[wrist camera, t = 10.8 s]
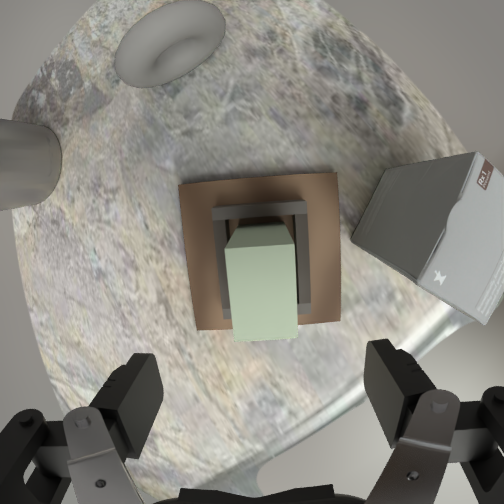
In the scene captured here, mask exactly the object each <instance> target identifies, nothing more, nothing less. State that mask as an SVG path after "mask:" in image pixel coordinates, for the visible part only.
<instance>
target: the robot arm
mask: <svg viewBox="0 0 504 504" xmlns="http://www.w3.org/2000/svg"><path fill="white" fill-rule="evenodd" d="M60 170H61V149H60V145H59V142H58V140H57V138H56V136H55V134H54V133H53V132H52V131H51V130H50V129H48V128H47V127H45V126H41V125H35V124H30V123H24V122H18V121H12V120H5V119H0V211H3V210H7V209H14V208H19V207H24V206H30V205H35V204H39V203H41V202H42V201H44V200H45V199H46V198H47V197H48V196H49V195H50V194H51V193H52V191H53V190H54V188H55V186H56V184H57V181H58V178H59V175H60ZM364 387H365V390H366V393H367V395H368V397H369V399H370V402H371V404H372V406H373V408H374V411H375V413H376V415H377V418H378V420H379V422H380V424H381V427H382V429H383V431H384V434H385V436H386V438H387V441H388V443H389V445H390V448H391V449H393V448H395V449H394V451H393V453H392V455H391V457H390V459H389V461H388V462H387V464H386V466H385V468H384V470H383V472H382V474H381V476H380V477H379V479H378V481H377V482H376V484H375V486H374V488H373V490H372V491H371V493H370V495H369V496H368V498H367V500H365V499H362V498H359V497H355V496H351V495H345V494H334V489H333V485H332V484H329V485H322V486H314V487H304V488H294V489H291V490H287V491H283V492H280V493H276V494H271V495H268V496H263V497H258V498H251V497H246V496H241V495H236V494H231V493H226V492H222V491H218V490H200V489H187V488H181V489H180V493H179V497H178V498H171V499H166V500H162V501H159V502H156V503H153V504H433V503H434V501H435V498H436V496H437V493H438V490H439V487H440V485H441V482H442V479H443V476H444V473H445V470H446V467H447V463H457V462H460V464H461V466H462V468H463V470H464V473H465V474H466V477H467V479H468V481H469V483H470V485H471V487H472V489H473V492H474V494H475V496H476V498H477V500H478V503H479V504H504V457H503V456H502V453H501V452H500V450H499V449H498V446H499V447H500V448H501V449H502V451H503V453H504V387H502V386H494V387H491V388H488V389H487V390H486V391H485V392H484V393H483V396H482V398H481V401H469V402H460V400H459V398H458V397H457V396H456V395H454V394H453V393H452V392H449V391H446V390H441V389H436V387H435V385H434V384H433V383H432V382H431V380H430V379H429V377H428V376H427V375H426V374H425V373H424V371H423V370H422V368H421V367H420V366H419V364H417V362H416V360H415V359H414V358H413V357H412V355H411V354H409V353H407V352H405V351H404V350H402V349H398V350H396V349H395V348H394V346H393V345H392V344H391V342H390V341H389V340H388V339H380V340H374V341H368V343H367V347H366V358H365V368H364ZM163 394H164V392H163V385H162V381H161V377H160V373H159V369H158V365H157V361H156V358H155V356H154V354H151V353H134V354H133V355H132V357H131V358H130V359H129V361H128V362H127V364H126V365H121V366H120V367H119V368H117V369H116V370H114V371H113V372H112V373H111V375H110V376H109V378H108V379H107V381H106V382H105V383H104V385H103V387H101V389H100V390H99V392H98V393H97V395H96V396H95V397H94V399H93V400H92V402H91V403H90V405H89V406H88V407H79V408H76V409H74V410H72V411H70V412H69V413H68V414H67V415H66V416H65V417H64V419H63V421H46V420H45V418H44V416H43V414H42V413H41V412H40V411H38V410H36V409H26V410H23V411H21V412H19V413H17V414H16V415H15V416H14V417H13V418H12V419H11V420H10V421H9V423H8V424H7V425H6V426H5V428H4V429H3V430H2V432H1V433H0V504H61V502H62V500H63V498H64V495H65V493H66V491H67V489H68V487H69V485H70V483H71V480H72V483H73V487H74V490H75V494H76V497H77V500H78V503H79V504H145V502H144V500H143V498H142V496H141V495H140V493H139V491H138V489H137V487H136V485H135V483H134V482H133V480H132V478H131V476H130V474H129V472H128V470H127V468H126V466H125V464H124V463H125V460H126V458H133V459H139V457H140V454H141V452H142V449H143V447H144V445H145V442H146V440H147V437H148V435H149V432H150V430H151V427H152V425H153V423H154V420H155V418H156V415H157V413H158V411H159V408H160V406H161V403H162V401H163ZM31 460H32V461H33V463H34V464H35V466H36V467H35V469H34V471H33V473H32V474H31V476H30V478H29V479H28V481H27V483H26V485H25V483H24V479H23V475H24V472H25V470H26V469H27V467H28V465H29V464H30V462H31Z"/></svg>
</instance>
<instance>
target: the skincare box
mask: <svg viewBox="0 0 504 504" xmlns="http://www.w3.org/2000/svg"><path fill="white" fill-rule="evenodd" d="M351 242H352V243H353V244H355V245H357V246H358V247H360V248H361V249H363V250H365V251H366V252H368V253H369V254H371V255H373V256H374V257H376V258H377V259H379V260H380V261H382V262H383V263H385V264H386V265H388V266H390V267H391V268H393V269H394V270H396V271H398V272H399V273H401V274H402V275H404V276H405V277H407V278H408V279H410V280H411V281H413V282H414V283H415V284H416V285H417V286H419V287H421V288H422V289H424V290H426V291H427V292H429V293H431V294H432V295H434V296H436V297H437V298H439V299H440V300H442V301H443V302H445V303H447V304H448V305H450V306H451V307H453V308H455V309H456V310H458V311H460V312H462V313H463V314H465V315H467V316H468V317H470V318H472V319H474V320H475V321H477V322H479V323H480V324H482V325H486V324H487V322H488V320H489V318H490V316H491V314H492V313H493V311H494V309H495V307H496V305H497V303H498V301H499V300H500V298H501V296H502V294H503V292H504V175H503V174H502V173H501V172H499V170H497V169H496V168H495V167H494V166H493V165H492V164H491V163H490V162H489V161H488V160H487V159H486V158H485V157H484V156H483V155H482V154H481V153H480V152H478V151H476V152H471V153H465V154H460V155H454V156H449V157H444V158H440V159H434V160H429V161H423V162H418V163H413V164H408V165H403V166H398V167H394V168H389V169H386V170H385V172H384V174H383V176H382V178H381V180H380V182H379V184H378V186H377V188H376V190H375V192H374V194H373V196H372V198H371V200H370V202H369V204H368V206H367V208H366V210H365V212H364V214H363V216H362V218H361V220H360V222H359V224H358V226H357V228H356V230H355V232H354V234H353V236H352V238H351Z"/></svg>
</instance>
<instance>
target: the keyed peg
mask: <svg viewBox="0 0 504 504" xmlns="http://www.w3.org/2000/svg"><path fill="white" fill-rule="evenodd" d="M225 259H226V269H227V278H228V288H229V297H230V307H231V316H232V325H233V334H234V342H240V341H261V340H277V339H291V338H298V321H297V290H296V266H295V245H294V242H293V240H292V238H291V236H290V234H289V231H288V229H287V227H286V225H285V223H284V222H270V223H255V224H242V225H238V226H237V228H236V229H235V231H234V233H233V235H232V236H231V238H230V240H229V242H228V244H227V245H226V247H225Z"/></svg>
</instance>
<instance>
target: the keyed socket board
mask: <svg viewBox="0 0 504 504" xmlns="http://www.w3.org/2000/svg"><path fill="white" fill-rule="evenodd" d="M178 187H179V197H180V207H181V216H182V225H183V234H184V243H185V251H186V259H187V266H188V274H189V281H190V288H191V295H192V302H193V308H194V315H195V321H196V327H197V330H223V329H233V325H232V316H231V307H230V297H229V288H228V278H227V269H226V259H225V247H226V245H227V244H228V242H229V240H230V238H231V236H232V235H233V233H234V231H235V229H236V228H237V226H238V225H242V224H255V223H270V222H284V223H285V225H286V227H287V229H288V231H289V234H290V236H291V238H292V240H293V242H294V245H295V266H296V290H297V321H298V325H303V324H315V323H325V322H335V321H340V316H341V250H340V217H339V197H338V180H337V173H313V174H294V175H278V176H264V177H251V178H239V179H228V180H218V181H208V182H198V183H189V184H181V185H178Z"/></svg>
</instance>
